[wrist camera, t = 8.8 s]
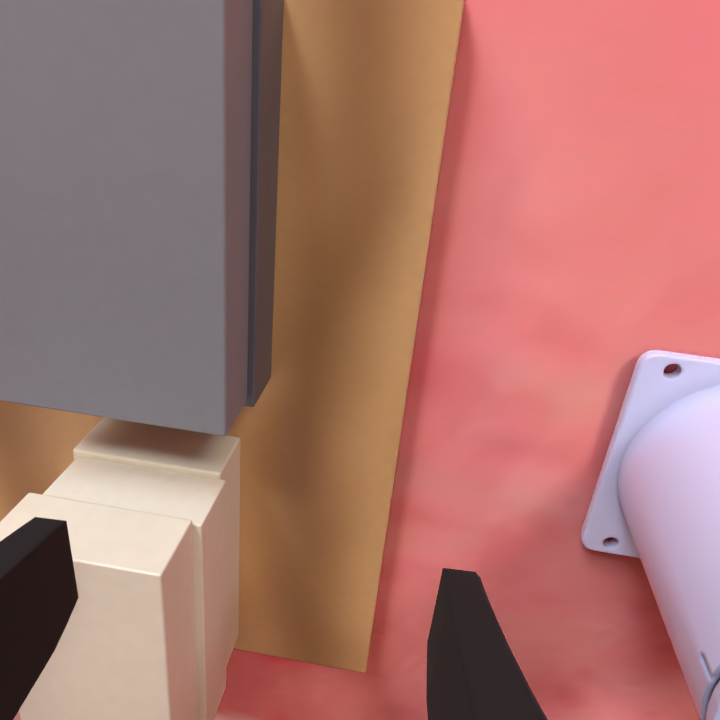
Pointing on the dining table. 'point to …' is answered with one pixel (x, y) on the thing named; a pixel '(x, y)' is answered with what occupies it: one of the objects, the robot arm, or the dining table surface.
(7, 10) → the grey stack
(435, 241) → the dining table surface
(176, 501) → the cream stack
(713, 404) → the robot arm
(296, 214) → the shelf board
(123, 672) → the cream book
